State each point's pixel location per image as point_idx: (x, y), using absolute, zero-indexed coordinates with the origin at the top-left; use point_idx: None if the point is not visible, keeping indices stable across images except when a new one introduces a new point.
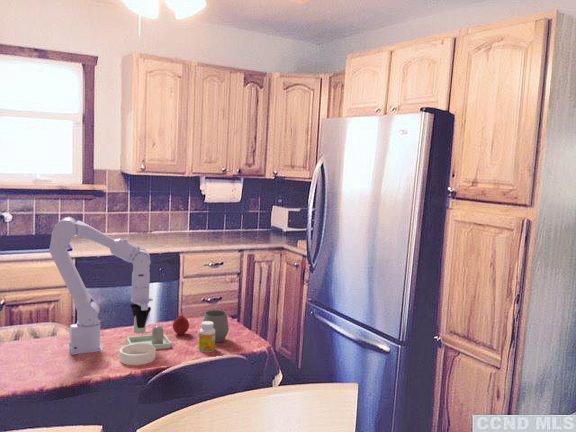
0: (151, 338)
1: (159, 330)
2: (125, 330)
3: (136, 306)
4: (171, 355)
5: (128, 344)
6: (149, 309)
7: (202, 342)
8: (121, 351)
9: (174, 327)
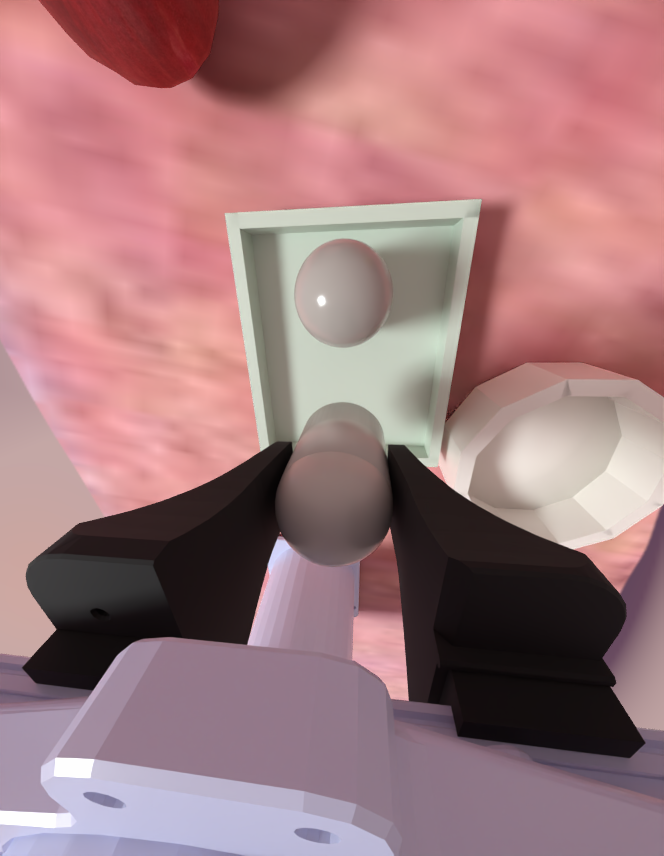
0: (259, 318)
1: (391, 290)
2: (86, 414)
3: (227, 636)
4: (585, 244)
5: None
6: (618, 599)
7: None
8: None
9: (174, 61)
